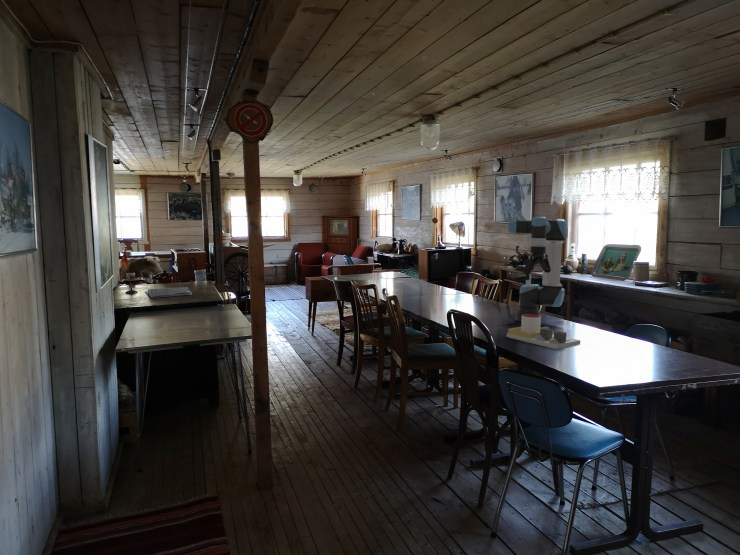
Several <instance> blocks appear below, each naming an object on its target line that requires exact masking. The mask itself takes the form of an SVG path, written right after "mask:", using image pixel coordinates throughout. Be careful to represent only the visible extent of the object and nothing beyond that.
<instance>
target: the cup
mask: <svg viewBox="0 0 740 555" xmlns="http://www.w3.org/2000/svg"><path fill="white" fill-rule="evenodd" d="M539 315H540V314H539ZM539 315H532V314H525V315H522V321H521V322H520V323H521V324H520V327H521V332H526V333H536V332H540V327H541V321H542V320H541V319H542V316H541V315H540V316H539Z"/></svg>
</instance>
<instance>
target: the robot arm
mask: <svg viewBox="0 0 740 555" xmlns="http://www.w3.org/2000/svg"><path fill="white" fill-rule="evenodd" d="M507 229H508V233H509V234H512V235H513V234H514V235H517V234H518V235H526V236H530V238H531V240H530V245H531V246H530V253H531V255H529V254H528V255H527V258H526V259H527V260H526V261H525V264H524V267H523V270H522V273H523V274H524V275H525V284H523V285H522V286H520V288H519V296H518V298H519V302H518V310H517V313H516V316H515V321H516V322H518V323H519V322H520V323H521V321H522V315H525V314H532V315H539V316H541V314H540V312H539V306H540V307H553V308H554V307H555V308H557V307H558V308H559V307H561V306H562V305H563V302H564V298H565V291H566V290H565V288H563V285H562V283H561V267H562V250H563V249H562V247H563V243H565V241H566V239H568V236H569V232H568V230H569V229H568V222H567V221H566V220H565V219H564V218H561V219H560V218H547V217H546V216H534V217H532V219H528V220H523V219H522V220H519V219H518V220H517V219H516V220H515V219H514V220H509V222H508V225H507ZM545 253H546V254H545ZM537 264H539V265H540V267H541V269H542V271H543V272H542V282H541V283H542V286H540V284H538V283H537V284H534V283H533V284H532V274H531V273H532V271H533V269H534V268H535V266H536V265H537Z"/></svg>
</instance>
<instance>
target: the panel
mask: <svg viewBox="0 0 740 555" xmlns="http://www.w3.org/2000/svg"><path fill="white" fill-rule="evenodd" d="M542 328H543V327H542V326H540V329H542ZM506 337H507V338H509V339H514V340H517V341H522V342H525V343H528V344H529V343H530V344H534V345H537V346H543V347H545V348H549V349H553V350H557V349H564V348H569V347H572V346H577V345H581V340H580V339H576V338H573V337H568V336H566V342H564V343H559V341H556V339H554V329H552V339H548V340H546V339H545V338H542V336H540V332H536V333H526V332H521V326H518V327H512V328H508V330H507V333H506Z"/></svg>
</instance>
